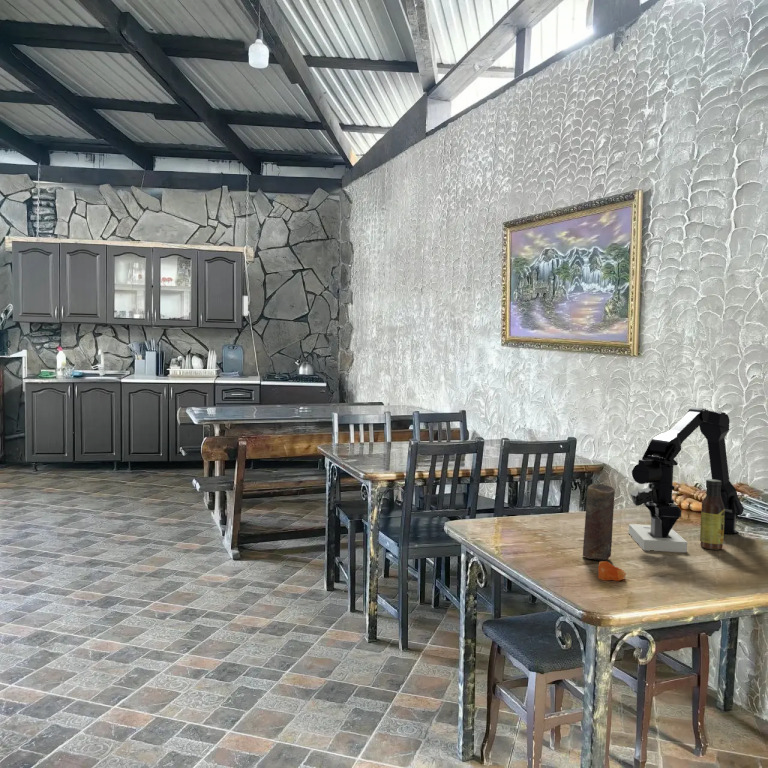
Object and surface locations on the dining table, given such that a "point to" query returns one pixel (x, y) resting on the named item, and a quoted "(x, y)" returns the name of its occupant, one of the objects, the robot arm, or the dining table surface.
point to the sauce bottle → (712, 517)
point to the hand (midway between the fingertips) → (659, 533)
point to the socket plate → (657, 539)
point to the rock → (610, 572)
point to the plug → (656, 528)
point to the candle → (598, 522)
